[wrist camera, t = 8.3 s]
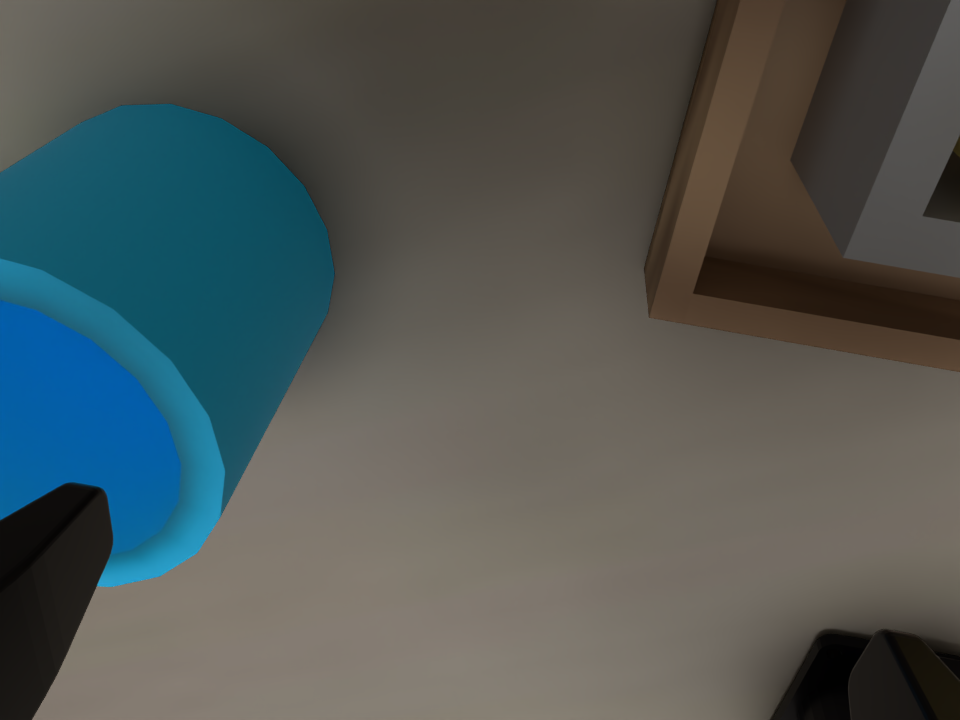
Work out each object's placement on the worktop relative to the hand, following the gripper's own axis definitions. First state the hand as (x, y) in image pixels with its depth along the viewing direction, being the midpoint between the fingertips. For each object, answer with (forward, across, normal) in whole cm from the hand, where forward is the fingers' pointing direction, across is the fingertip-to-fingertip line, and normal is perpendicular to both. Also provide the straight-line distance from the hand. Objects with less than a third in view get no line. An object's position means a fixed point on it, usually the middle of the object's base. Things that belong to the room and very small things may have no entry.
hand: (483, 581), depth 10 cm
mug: (+13, +11, +4) cm, 18 cm away
